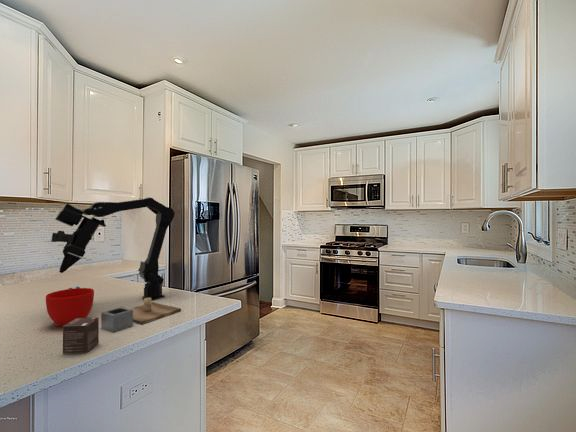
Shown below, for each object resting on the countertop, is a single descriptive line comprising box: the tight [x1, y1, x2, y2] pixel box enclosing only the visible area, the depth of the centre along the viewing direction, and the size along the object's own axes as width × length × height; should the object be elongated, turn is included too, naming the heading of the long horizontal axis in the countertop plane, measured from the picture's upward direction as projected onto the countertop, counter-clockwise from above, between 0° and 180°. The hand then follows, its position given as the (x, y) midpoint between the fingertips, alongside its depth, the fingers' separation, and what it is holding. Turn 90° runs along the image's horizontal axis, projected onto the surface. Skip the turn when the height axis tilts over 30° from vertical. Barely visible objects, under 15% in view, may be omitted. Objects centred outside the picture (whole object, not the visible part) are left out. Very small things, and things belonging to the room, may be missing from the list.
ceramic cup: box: [45, 287, 95, 328], centre depth 102 cm, size 13×17×10 cm
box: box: [62, 317, 100, 355], centre depth 81 cm, size 6×6×7 cm
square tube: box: [100, 306, 134, 333], centre depth 97 cm, size 6×6×5 cm
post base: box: [130, 298, 182, 326], centre depth 110 cm, size 16×16×6 cm
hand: (60, 271), depth 110 cm, fingers open, 9 cm apart
